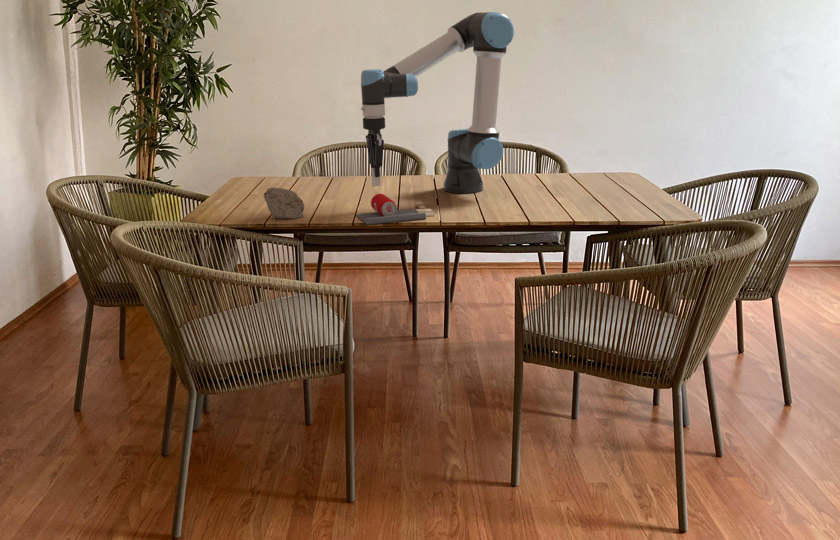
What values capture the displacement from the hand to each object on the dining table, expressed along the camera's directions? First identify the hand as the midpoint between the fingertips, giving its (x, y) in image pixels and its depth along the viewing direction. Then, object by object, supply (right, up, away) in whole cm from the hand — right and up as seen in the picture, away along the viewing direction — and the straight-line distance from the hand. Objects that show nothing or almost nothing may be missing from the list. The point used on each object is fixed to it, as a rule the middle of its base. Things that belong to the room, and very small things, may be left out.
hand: (376, 185), depth 275 cm
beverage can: (+1, -6, -2) cm, 6 cm away
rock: (-31, -12, -7) cm, 33 cm away
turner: (+16, -9, -2) cm, 18 cm away
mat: (+5, -11, -9) cm, 15 cm away
